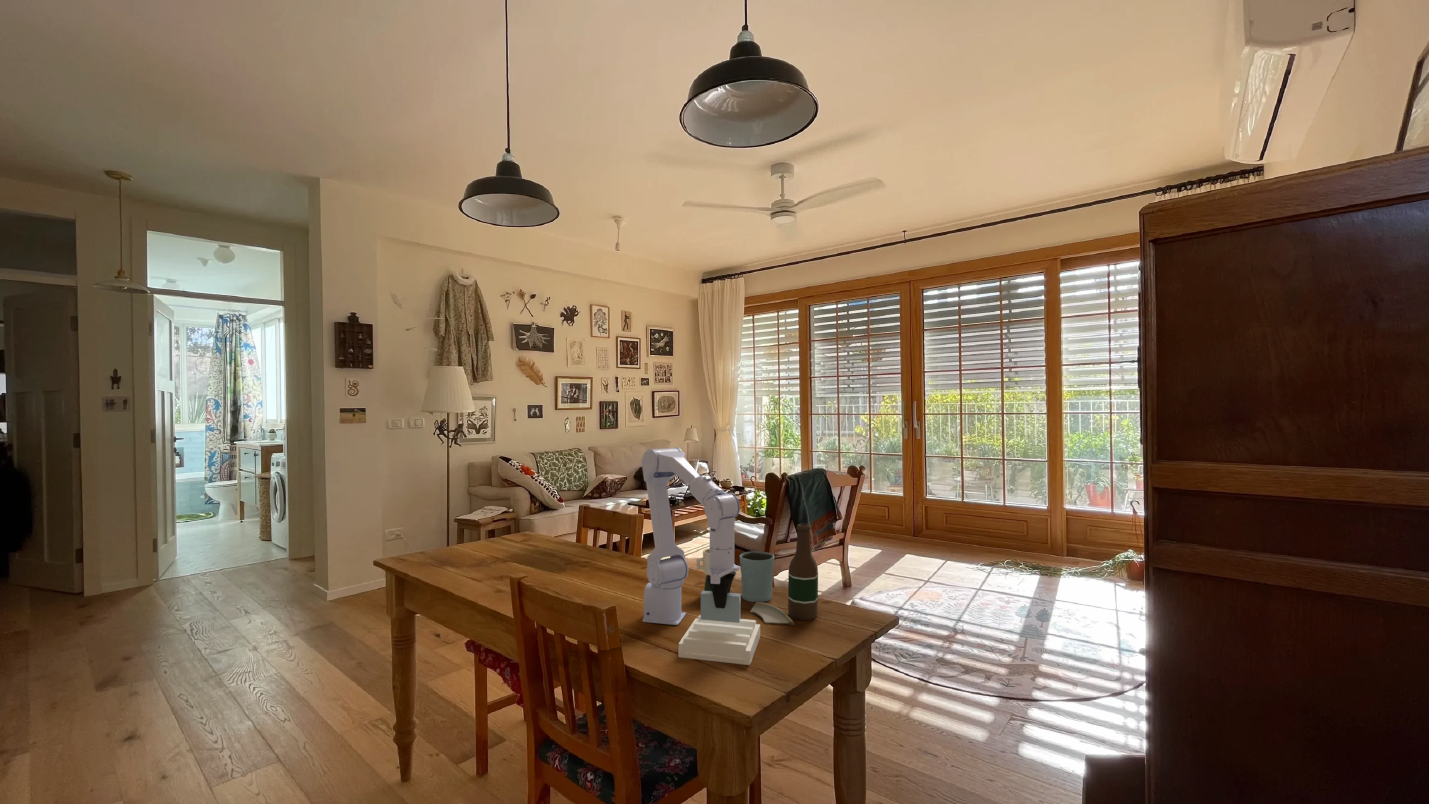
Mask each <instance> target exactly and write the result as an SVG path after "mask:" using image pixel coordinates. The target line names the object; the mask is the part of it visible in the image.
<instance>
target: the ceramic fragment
mask: <svg viewBox="0 0 1429 804" xmlns="http://www.w3.org/2000/svg"><path fill="white" fill-rule="evenodd" d="M749 613H751V614H753V615H756V616H758V617H759V618H761V620H762V621H763V623H764V624H766V625H787V626H788V625H790V626H795V622H794V621H793V618H792V617H791V616H790V615H789V614H787V613H786V612H784V611H783V610H782V609H780V608H779V607H777V606H776V605H772V604H771V603H766V602H755V604H754V605H753V606H752V608H751V610H750V611H749ZM788 615H789V616H788Z"/></svg>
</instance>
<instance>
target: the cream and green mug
mask: <svg viewBox="0 0 1429 804" xmlns="http://www.w3.org/2000/svg"><path fill="white" fill-rule="evenodd" d="M709 556H710V547H709V548H705V549H704V550H702V557H697V558H696V569H697V570H702V572H703V573H704V574H705V582H704V588H703V589H704V590H703V591H712V590H711V588H710V585H709V584H708V582H707V577H708V576H711V574H710V571H709ZM701 562H702V565H700V564H701Z"/></svg>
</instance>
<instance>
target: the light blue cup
mask: <svg viewBox="0 0 1429 804" xmlns="http://www.w3.org/2000/svg"><path fill="white" fill-rule="evenodd" d="M774 567H775V555H774V554H773V553H770V552H767V551H765V552H764V551H747V552H742V553H741V554H739V569H740V575H741V578H740V580H741V599H743V600H745V601H748V602H751V603H757V602H760V603H766V602H770V601H771V599H772V598H773V580H774V579H773V576H774Z"/></svg>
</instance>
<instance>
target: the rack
mask: <svg viewBox="0 0 1429 804" xmlns="http://www.w3.org/2000/svg"><path fill="white" fill-rule="evenodd" d="M760 639H761V624H759V623H757V620H755V619H746V618H741V620H740V622H739V623H733V622H722V621H711V620H701V614H699V615H698V616H697V617H695V619H694V620H693V621H692V623H691V625H690V626H689V627H688V629H687V630H686V632H685V633H684V635H683V636H682V638H681V640H680V641H678V650H677V651H678V658H683V659H691V660H701V661H710V662H719V663H726V664H728V663H729V664H737V665H747V666H751V664H752V661H753V659H754V656H755V652H756V651H757V647H758V644H759V641H760Z"/></svg>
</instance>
